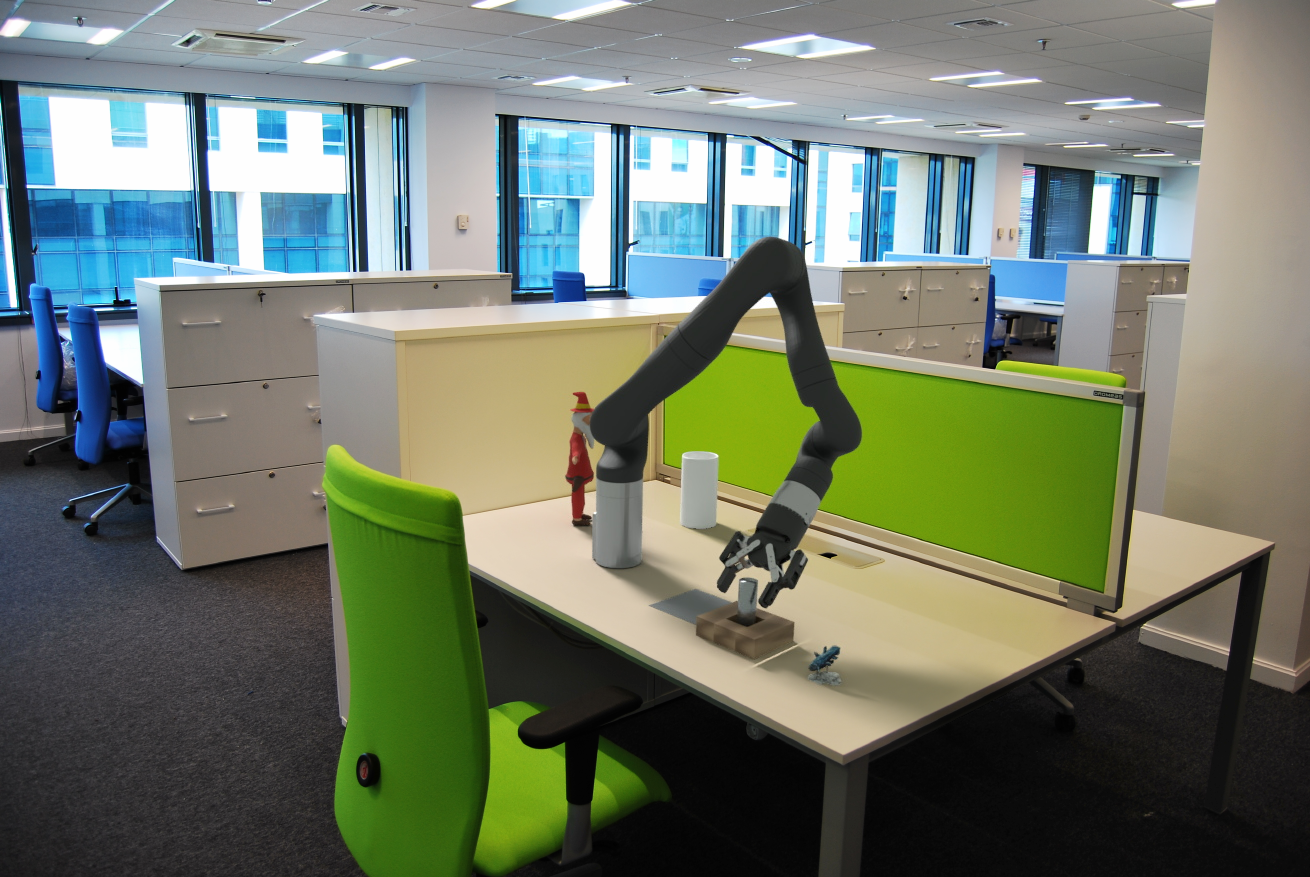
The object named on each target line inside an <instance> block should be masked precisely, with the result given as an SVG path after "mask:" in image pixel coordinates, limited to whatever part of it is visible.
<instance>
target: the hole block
mask: <svg viewBox="0 0 1310 877" xmlns="http://www.w3.org/2000/svg"><path fill="white" fill-rule="evenodd" d="M731 602H732V603H730V604H727V605H725V606H722V607H719V608H717V609H714V610H712V611H709V612H706V613H704V614H701V615H699V616H697V621H696V625H695V636H698V637H699V638H702V639H704V640H707V641H709V642H712V643H713V644H716V645H718V646H720V647H723V648H725V649H728V650H731V651H732V652H736V653H737V654H740V655H742V656H745V657H746V658H749V659H752V660H756V659H757V658H760V657H762V656H765V655H766V654H769V653H771V652H773V651H775V650H777V649H780V648H781V647H783V646H787V645H788V644H790V643H792V642H794V641H795V640H794V639H795V638H794V637H795V621H793V620H790V619H788V618H785V617H783V616H782V617H781V616H780V615H777V614H773V613H771V612H768V611H766V610H763V609H761V608H758V607H757V609H756V624H754V625H751V626H749V627H745V626H743V625H740V624H738V623H737V610H738V600H735V601H734V602H733V601H731Z"/></svg>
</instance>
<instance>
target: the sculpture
mask: <svg viewBox="0 0 1310 877" xmlns="http://www.w3.org/2000/svg"><path fill="white" fill-rule="evenodd" d="M840 654H841V647H840V646H838V645H837V644H833V645H832V646H831V647H830V648H828V647H827V645H825V646H824V647H823V649H822V653H821V654H820V653H819V652H817V651H814V652H813V655H814V656H815V658H814V659H813V660H812V662H811V663H810V664H809V666H808V670H809V671H810V672H812V673H811V674H809V675H807V680H808V681H811V682H813V683H815V684H817V685H819V686H820V685H823V684H828V685H830V686H841V684H842V678H840V674H839V673H838V672H836V671H829V667H831V666H832V665H833V664H834V662H835V661H836V660H838V659H839V657H838V656H839V655H840ZM822 669H826V670H822ZM820 670H822V671H820ZM815 671H816V672H815ZM813 672H814V673H813Z"/></svg>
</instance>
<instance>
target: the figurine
mask: <svg viewBox="0 0 1310 877" xmlns="http://www.w3.org/2000/svg"><path fill="white" fill-rule="evenodd" d="M572 395H573V396H575V397H577V400H576V401H577V402H576V405H575V407H574V408H571V409H570V411H571V412H573V413H572V415H571V419H570V421H571V422H572V424H573V430H572V433H571V437H570V439H569V455H568V466H567V469H566V470H567V471H566V473H565V475H564V478H565V480H566V483H568V484H569V485H571V514H572V516H571V517H572V521H571V524H572V525H573V526H590V525H591V521H590V520H593V516H591V515H589V514H585V513H584V509H585V506H586V496H585V492H586V491H585V490H586V489H585V488H586V487H585V486H586V485H587V484H589V483H590V482H591V483H592V482H593V480H594V478H595V475H594V474H595V473H594V470H593V468H592V464H591V460H590V456H589V452H588V448H587V444H588V447H589V448H590V449H591V450H593V449H594V446H595V439H594V438H593V436H592V434H591V431H590V418H591V415H592V412H593V410H594V409H595V408H592V407H591V406H590V402H589V399H588V396H587V394H586V392H585V391H576V392H572Z"/></svg>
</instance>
